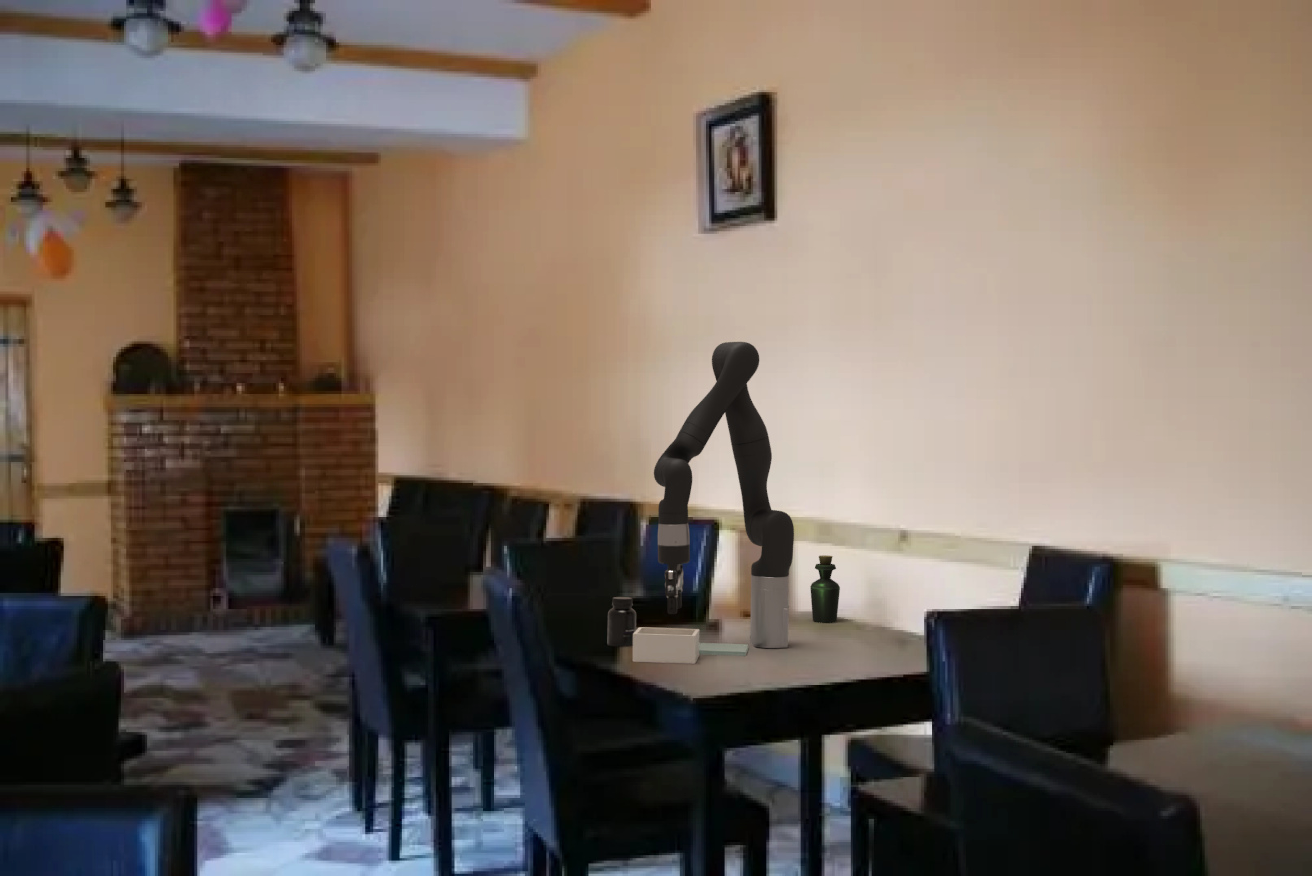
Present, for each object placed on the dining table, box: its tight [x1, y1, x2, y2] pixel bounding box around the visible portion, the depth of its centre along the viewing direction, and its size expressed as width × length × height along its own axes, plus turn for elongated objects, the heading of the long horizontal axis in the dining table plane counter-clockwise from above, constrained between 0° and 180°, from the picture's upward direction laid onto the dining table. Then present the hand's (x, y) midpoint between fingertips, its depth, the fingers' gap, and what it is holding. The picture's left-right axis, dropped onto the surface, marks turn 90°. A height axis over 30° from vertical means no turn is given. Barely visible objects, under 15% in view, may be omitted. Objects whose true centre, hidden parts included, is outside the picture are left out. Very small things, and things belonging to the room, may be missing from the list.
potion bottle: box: [809, 554, 841, 624], centre depth 381 cm, size 8×8×18 cm
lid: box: [699, 642, 750, 657], centre depth 326 cm, size 19×11×3 cm, turn 83°
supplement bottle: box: [606, 596, 637, 648], centre depth 333 cm, size 7×7×12 cm
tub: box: [632, 626, 700, 665], centre depth 314 cm, size 14×10×7 cm
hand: (674, 611), depth 327 cm, fingers open, 8 cm apart
